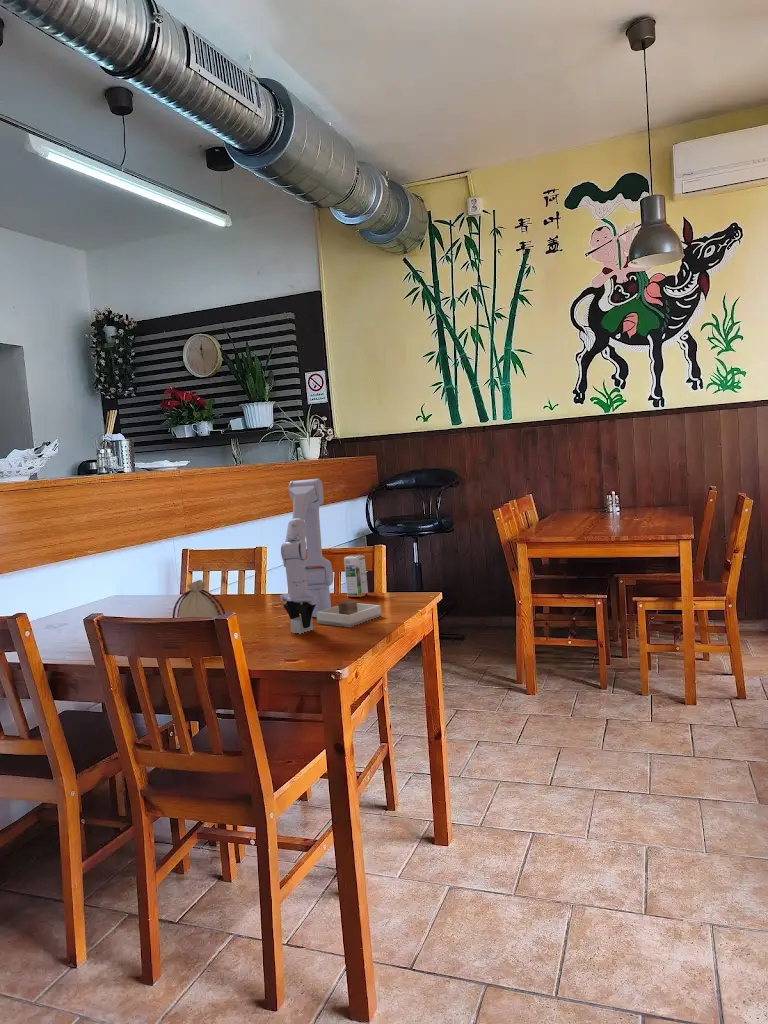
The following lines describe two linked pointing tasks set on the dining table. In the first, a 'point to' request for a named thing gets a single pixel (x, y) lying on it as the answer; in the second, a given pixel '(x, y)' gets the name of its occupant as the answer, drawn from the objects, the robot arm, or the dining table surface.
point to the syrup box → (355, 575)
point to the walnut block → (347, 607)
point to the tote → (334, 618)
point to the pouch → (197, 602)
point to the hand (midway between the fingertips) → (301, 626)
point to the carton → (299, 625)
